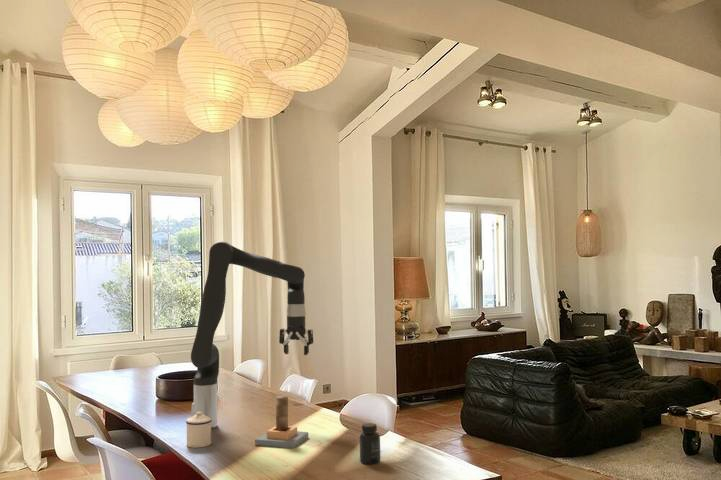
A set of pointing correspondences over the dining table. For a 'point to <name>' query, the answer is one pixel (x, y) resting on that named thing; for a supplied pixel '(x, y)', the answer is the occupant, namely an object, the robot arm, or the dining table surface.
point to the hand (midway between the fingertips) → (296, 354)
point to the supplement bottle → (369, 444)
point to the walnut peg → (281, 413)
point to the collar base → (282, 438)
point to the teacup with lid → (198, 430)
